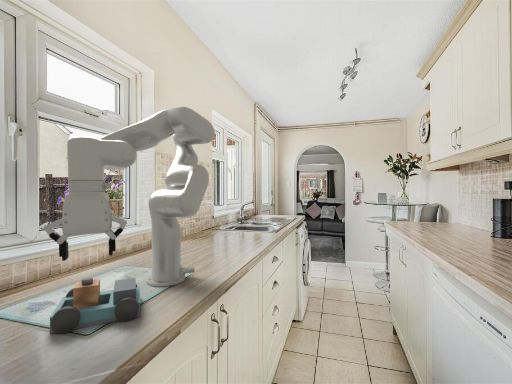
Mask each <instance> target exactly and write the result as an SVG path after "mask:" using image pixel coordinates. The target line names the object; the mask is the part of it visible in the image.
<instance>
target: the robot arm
mask: <svg viewBox="0 0 512 384" xmlns="http://www.w3.org/2000/svg"><path fill="white" fill-rule="evenodd" d="M215 132H216V131H215V128H214V126H213V124H212V123H211V122H210V121H209V120H208V119H207V118H205V117H204V116H202V115H201V114H200V113H198V112H197V111H195V110H194V109H192V108H189V107H187V106H178V107H171V108H165V109H162V110H160V111H157V112H156V113H154V114H152V115H150V116H149V117H147V118H145V119H143V120H140V121H138V122H137V123H133V124H131V125H128V126H126V127H123V128H121V129H119V130H115V131H113V132H111V133H109V134H105V135H103V136H102V137H100V138H96V137H92V136H80V135H79V136H71V137H69V138H68V140H67V144H66V145H67V146H66V149H67V153H66V154H67V181H68V182H67V183H68V193H65V194H64V198H63V205H62V217H61V218H59V219H57V220H55V221H52V222H50V223H48V224H46V225H44V226H43V229H44V231H45V232H46V234H47V235H48V236H49V239H51V240H53V241H54V242H55V243H56V244H58V257H59V258H61V259H62V260H61V261H62V262H65V261H66V260H68V259H69V255H70V254H69V242H68V241H67V239H68V238H69V237H70V236H81V235H82V236H83V235H95V234H106V236H108V237H109V239H108V255H109V256H110V257H111V256H113V255H114V252H116V249H117V248H116V246H117V245H116V243H117V242H116V239H117V238H118V237H119V235H121V234H122V233H123V232H124V230H125V227H126V226H127V223H128V221H127V220H125V219H123V218H121V217H118V216H116V215H113V214H112V208H111V207H112V206H111V200H110V199H111V198H110V195H109V193H107V192H105V191H106V190H108V189H112V183H111V182H110V183H109V182H106V181H105V170H123V169H128V168H130V167H132V166H133V165H134V164H135V163H136V161H137V157H138V156H137V152H141V151H146V150H149V149H153V148H155V147H157V146H159V145H160V144H161V143H163V142H164V141H166V139H168V138H170V137H171V136H172V139H173V142H174V145H175V152H176V154H175V157H174V160H173V161H172V163H171V165H170V166H169V169H168V171H167V173H166V175H165V179H164V183H165V186H166V187H167V188H165V189H164V188H163V189H161V188H160V189H157V190H155V191H154V192H152V194H151V195H150V196H149V198H148V210H149V215H150V222H151V275H150V276H148V277H147V278H146V284H147V285H149V286H152V287H169V286H170V285H171V286H175V285H178V284H181V283H183V282H184V281H185V280H186V274H192V273H193V274H194V273H195V266H192V267H191V266H185V267H184V266H183V265H182V251H181V250H182V248H181V247H182V245H181V244H182V243H181V239H182V230H181V229H182V228H181V225H180V222H179V221H178V218H181V219H182V218H183V219H186V218H187V219H188V218H192V217H194V216H195V215H196V214H197V212H198V211H199V209H200V207H201V204H202V203H203V199H204V197H205V194H206V192H207V189H208V187H209V182H210V176H209V172H208V169H207V168H206V167H205V166H204V165H201V164H198V162H199V158H198V154H197V153H196V151H195V150H194V147H193V146H194V145H203V144H209V143H211V142H212V141H213V140H214V139H215V135H216V134H215ZM113 222H115V223H116V224H119V227H118V228H117V229H116V230H115V231H114V230H112V226H113ZM60 225H61V229H62V234H61V235H60V234H59V233H58V232H56V231H55V228H56V227H58V226H60Z"/></svg>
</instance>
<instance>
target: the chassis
mask: <svg viewBox="0 0 512 384" xmlns="http://www.w3.org/2000/svg"><path fill="white" fill-rule="evenodd" d="M136 280H137V279H136V277H132V278H125V279H123V278H122V279H115V280H114V284H113V289H111V290H110V289H109V290H103V291H100V305H97V306H90V307H84V308H78V309H77V308H76V307H73V288H70V289H69V291H68V292H66V295H65V296H62V298H61V299H60V300H59V302H58V304H56V307H55V308H54V310H53V312H52V313H51V315H50V316H49V334H53V333H54V334H55V333H57V334H61V335H62V334H67V333H70V332H72V331H73V330H75V329H80V328H81V327H82V328H86V326H87V327H92V326H97V325H96V324H98V325H102V324H101V323H103V324H106V323H105V322H108V323H113V322H122V323H126V322H130V321H132V320H134V319H135V318H140V317H142V316H141V315H142V314H141V313H142V312H141V309H142V307H141V294H140V293H141V292H140V286H138V285H137V282H136ZM91 325H92V326H91Z"/></svg>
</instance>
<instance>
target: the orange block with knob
mask: <svg viewBox="0 0 512 384" xmlns="http://www.w3.org/2000/svg"><path fill="white" fill-rule="evenodd" d="M72 289H73V307H76V308H77V309H78V308H84V307H90V306H97V305H100V292H101V279H100V278H98V279H94V278H93V277H86V278H82V279H81V280H80V281H76V283H75V284H74V286H73V287H72Z"/></svg>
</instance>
